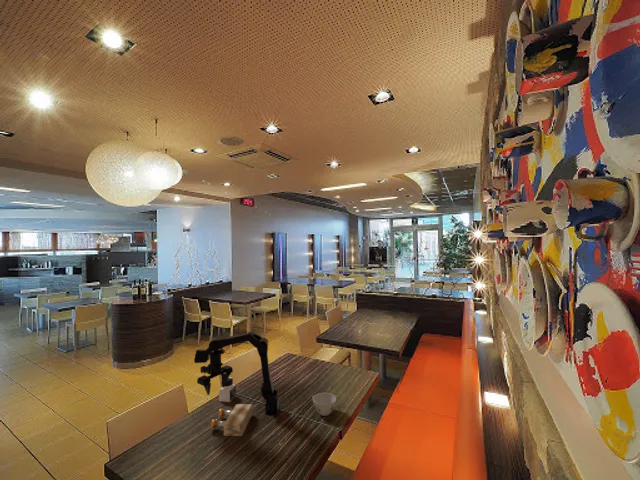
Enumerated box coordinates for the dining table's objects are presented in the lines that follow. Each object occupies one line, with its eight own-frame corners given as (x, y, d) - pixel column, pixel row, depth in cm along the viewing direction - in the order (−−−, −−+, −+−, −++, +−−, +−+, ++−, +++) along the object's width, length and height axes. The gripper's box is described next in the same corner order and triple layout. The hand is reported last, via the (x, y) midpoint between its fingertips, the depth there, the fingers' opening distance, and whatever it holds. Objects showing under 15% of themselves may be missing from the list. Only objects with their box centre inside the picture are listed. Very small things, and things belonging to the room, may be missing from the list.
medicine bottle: (230, 402, 164) (229, 381, 165) (219, 401, 166) (218, 380, 166) (236, 396, 171) (235, 376, 172) (225, 395, 173) (225, 375, 173)
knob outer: (233, 426, 142) (233, 417, 142) (230, 431, 137) (230, 422, 137) (214, 425, 142) (214, 416, 142) (210, 431, 138) (210, 422, 138)
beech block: (252, 414, 152) (252, 404, 152) (241, 436, 135) (241, 424, 135) (236, 414, 153) (236, 404, 153) (223, 435, 136) (223, 424, 136)
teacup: (341, 411, 153) (340, 396, 153) (326, 423, 144) (326, 407, 144) (319, 402, 163) (319, 388, 163) (305, 412, 153) (304, 397, 153)
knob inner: (239, 415, 151) (239, 406, 151) (236, 420, 146) (236, 411, 146) (221, 414, 151) (221, 406, 151) (218, 420, 147) (218, 411, 147)
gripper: (220, 353, 164) (220, 380, 164) (190, 364, 149) (191, 394, 149) (233, 357, 158) (233, 384, 158) (203, 369, 143) (204, 400, 142)
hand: (215, 390), depth 152 cm, fingers open, 9 cm apart
